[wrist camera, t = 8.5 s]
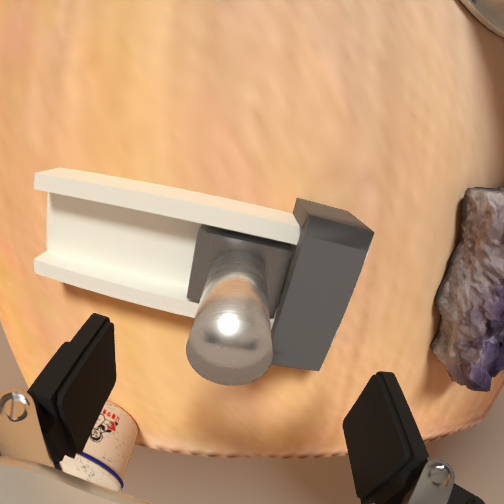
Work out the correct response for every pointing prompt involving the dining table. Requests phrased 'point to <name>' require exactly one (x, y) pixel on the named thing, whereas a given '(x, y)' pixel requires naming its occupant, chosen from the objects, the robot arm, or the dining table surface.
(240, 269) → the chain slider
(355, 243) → the track
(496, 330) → the geode
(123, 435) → the teacup with lid
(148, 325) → the dining table surface
